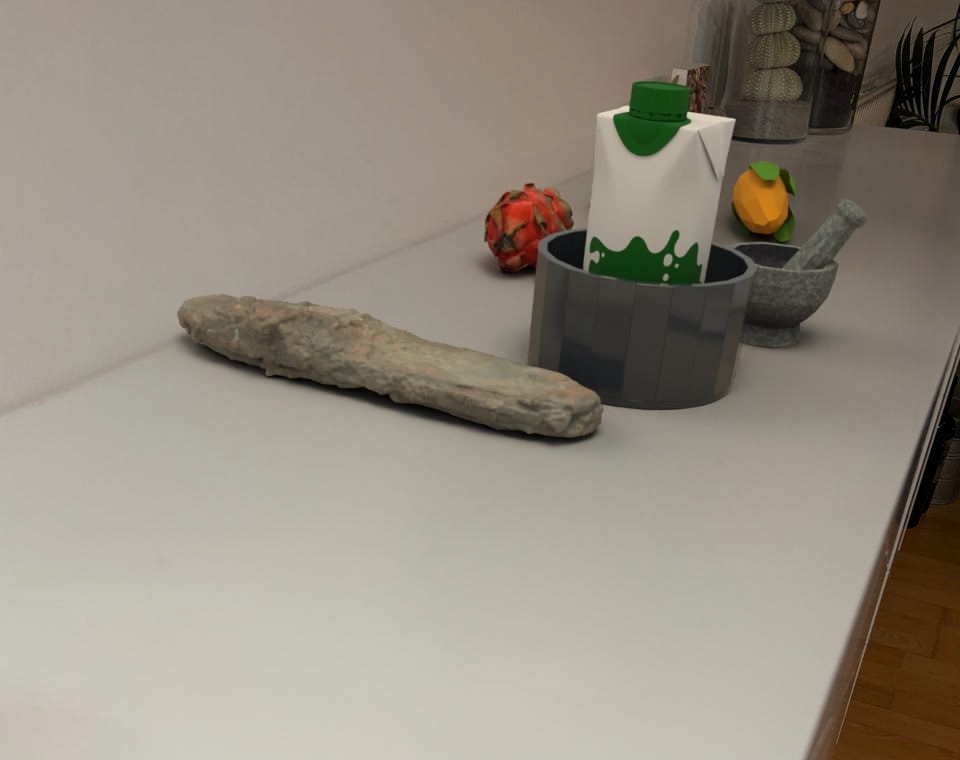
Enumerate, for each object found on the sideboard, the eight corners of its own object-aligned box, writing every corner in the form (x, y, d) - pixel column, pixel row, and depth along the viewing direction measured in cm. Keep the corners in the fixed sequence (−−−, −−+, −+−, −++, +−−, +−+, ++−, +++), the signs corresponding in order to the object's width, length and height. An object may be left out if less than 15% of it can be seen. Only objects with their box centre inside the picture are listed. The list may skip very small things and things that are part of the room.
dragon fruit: (557, 271, 115) (505, 315, 107) (500, 212, 114) (443, 252, 106) (605, 214, 109) (554, 256, 101) (545, 151, 108) (489, 188, 100)
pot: (748, 358, 91) (771, 248, 86) (710, 425, 78) (735, 300, 73) (563, 324, 95) (574, 217, 90) (498, 382, 82) (507, 261, 77)
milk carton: (557, 364, 85) (588, 79, 74) (605, 336, 91) (641, 70, 80) (660, 391, 81) (710, 97, 70) (703, 360, 88) (754, 86, 77)
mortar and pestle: (704, 344, 93) (731, 197, 86) (709, 313, 101) (735, 176, 94) (838, 362, 91) (876, 214, 85) (832, 329, 99) (867, 191, 92)
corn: (795, 152, 132) (815, 184, 116) (785, 217, 136) (803, 258, 120) (733, 151, 133) (744, 182, 116) (725, 216, 137) (735, 255, 121)
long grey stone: (562, 481, 71) (614, 438, 79) (577, 405, 69) (629, 368, 76) (143, 343, 82) (225, 318, 90) (141, 273, 79) (226, 253, 87)
